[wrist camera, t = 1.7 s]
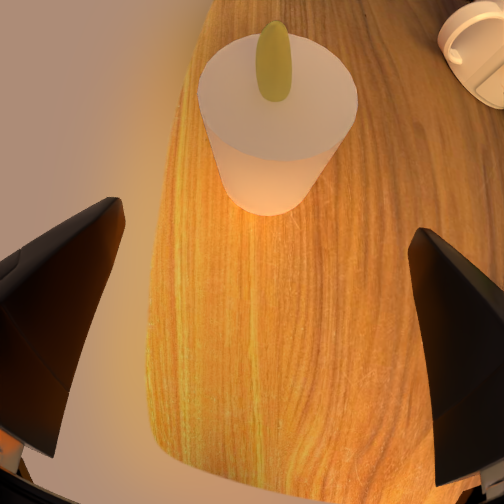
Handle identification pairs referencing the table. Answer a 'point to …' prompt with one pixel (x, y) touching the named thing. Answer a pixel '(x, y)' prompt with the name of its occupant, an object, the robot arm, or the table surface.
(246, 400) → the table surface
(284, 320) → the table surface
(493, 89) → the mug
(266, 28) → the candle
